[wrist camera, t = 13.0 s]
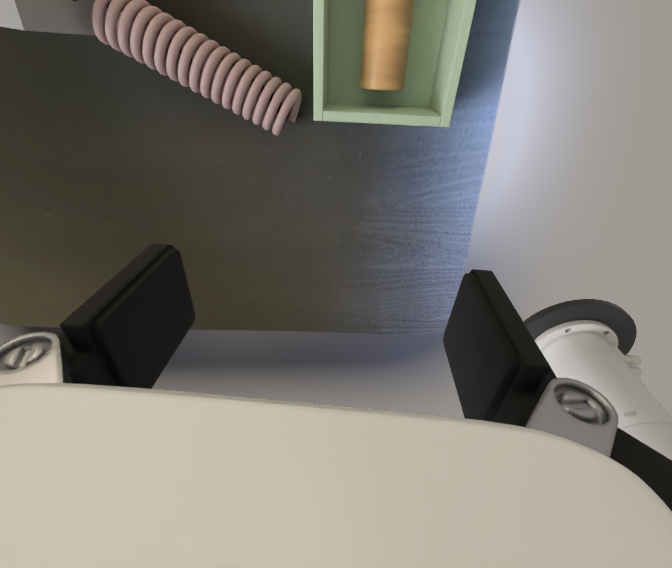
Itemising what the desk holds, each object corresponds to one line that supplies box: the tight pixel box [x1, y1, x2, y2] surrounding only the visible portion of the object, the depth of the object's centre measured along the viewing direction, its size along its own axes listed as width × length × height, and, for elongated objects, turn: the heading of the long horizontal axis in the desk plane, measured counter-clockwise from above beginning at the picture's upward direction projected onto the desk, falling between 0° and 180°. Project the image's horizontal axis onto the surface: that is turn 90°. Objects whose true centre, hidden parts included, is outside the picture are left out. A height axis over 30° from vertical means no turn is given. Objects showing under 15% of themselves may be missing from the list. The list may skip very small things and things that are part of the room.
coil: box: [92, 0, 301, 135], centre depth 30 cm, size 5×5×18 cm
